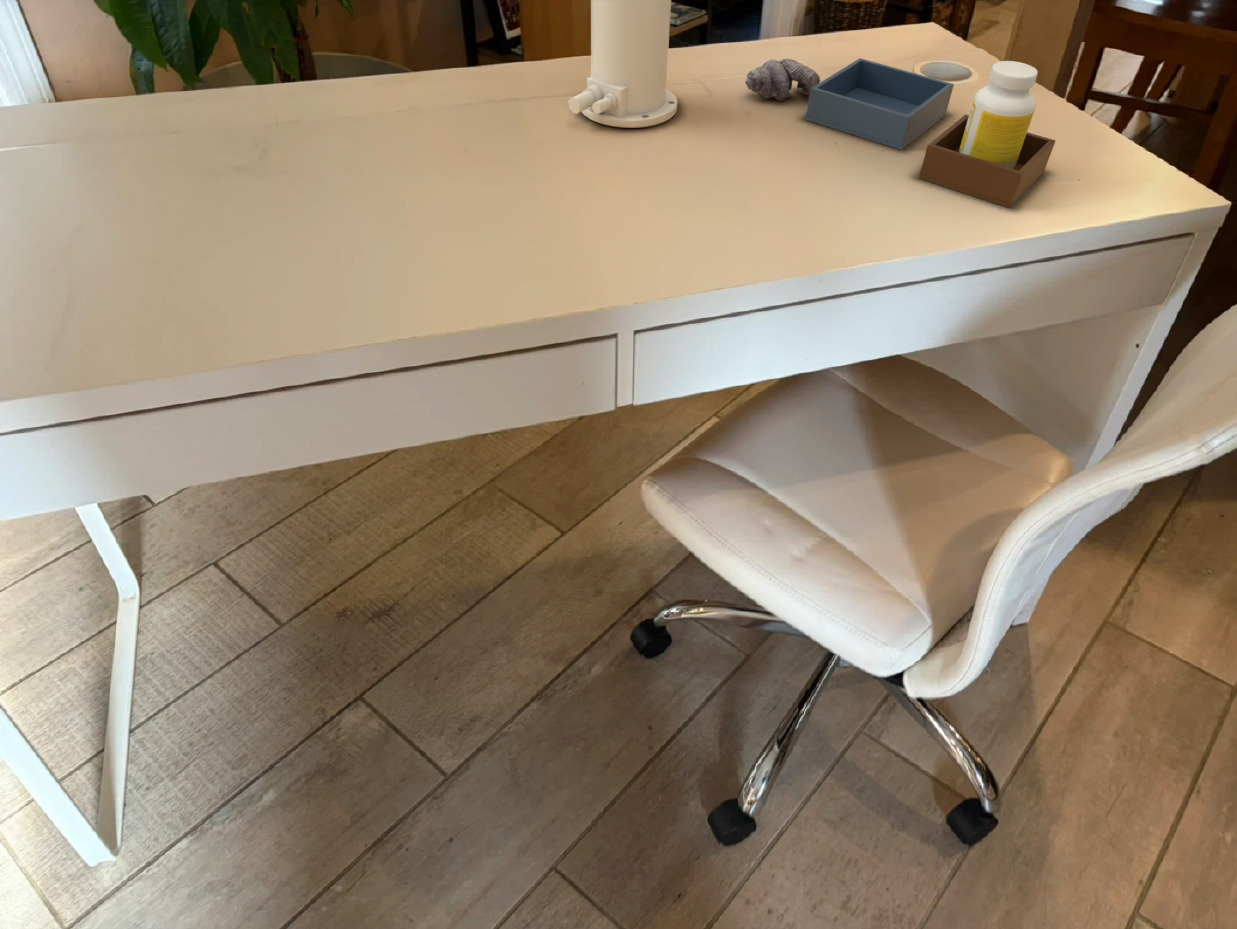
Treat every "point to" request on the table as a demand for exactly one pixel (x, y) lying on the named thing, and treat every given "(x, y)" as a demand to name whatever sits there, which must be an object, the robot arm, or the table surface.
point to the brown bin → (984, 167)
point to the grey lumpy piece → (781, 78)
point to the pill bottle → (1001, 114)
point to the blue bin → (879, 102)
